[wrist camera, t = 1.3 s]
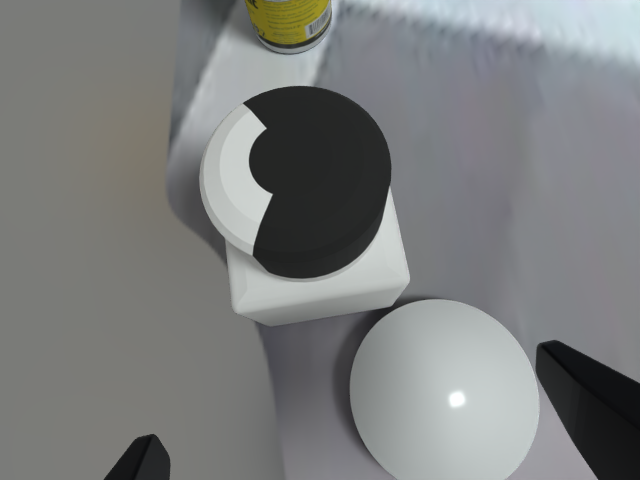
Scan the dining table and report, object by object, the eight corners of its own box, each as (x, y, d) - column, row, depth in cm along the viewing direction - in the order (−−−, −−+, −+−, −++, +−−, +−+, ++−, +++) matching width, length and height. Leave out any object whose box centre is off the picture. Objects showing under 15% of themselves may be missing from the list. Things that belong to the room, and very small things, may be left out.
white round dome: (568, 417, 20) (580, 420, 19) (421, 529, 20) (425, 540, 18) (451, 270, 23) (457, 265, 22) (316, 364, 22) (314, 365, 21)
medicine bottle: (370, 187, 25) (386, 38, 13) (394, 307, 23) (439, 253, 11) (252, 208, 25) (166, 77, 13) (266, 328, 23) (179, 296, 11)
